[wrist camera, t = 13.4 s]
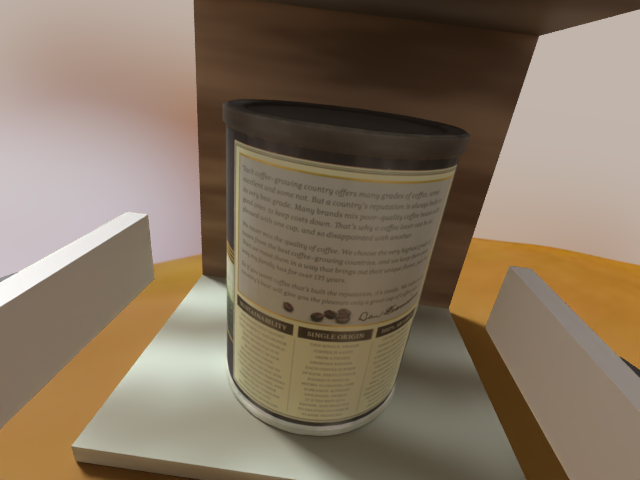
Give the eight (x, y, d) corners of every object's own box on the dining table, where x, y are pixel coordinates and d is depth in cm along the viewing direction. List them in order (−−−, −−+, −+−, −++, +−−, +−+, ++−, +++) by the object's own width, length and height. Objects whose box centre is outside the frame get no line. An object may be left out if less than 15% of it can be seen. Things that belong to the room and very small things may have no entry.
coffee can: (199, 333, 22) (190, 91, 16) (331, 294, 27) (360, 106, 21) (274, 483, 14) (310, 129, 8) (434, 387, 20) (522, 137, 14)
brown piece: (534, 529, 15) (1058, -235, 5) (75, 461, 15) (-165, -364, 6) (440, 307, 29) (539, 0, 20) (209, 275, 29) (202, -41, 20)
